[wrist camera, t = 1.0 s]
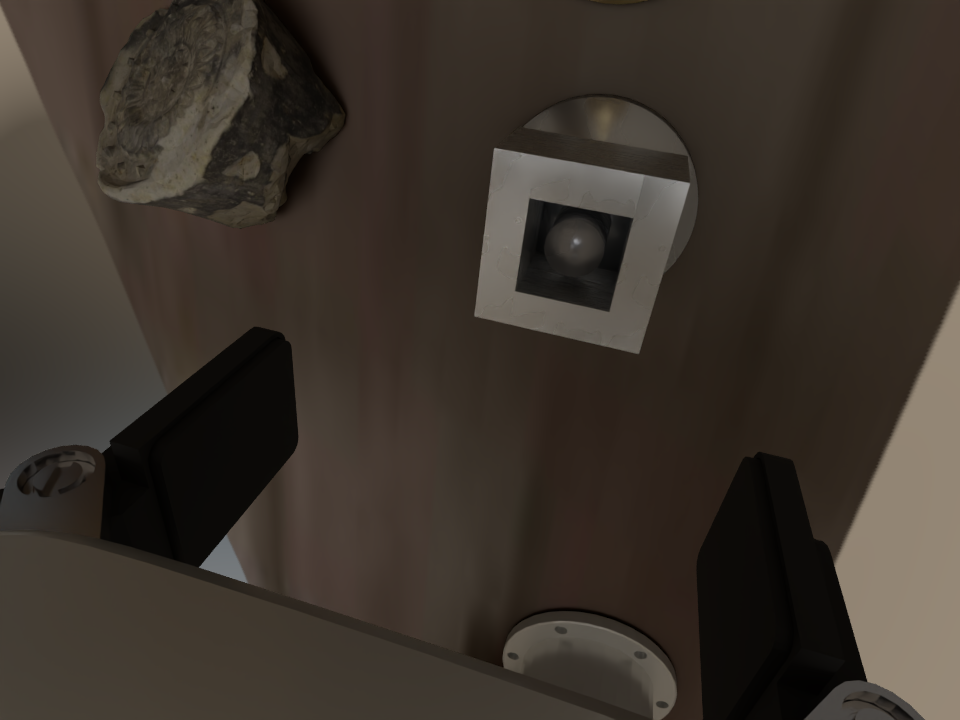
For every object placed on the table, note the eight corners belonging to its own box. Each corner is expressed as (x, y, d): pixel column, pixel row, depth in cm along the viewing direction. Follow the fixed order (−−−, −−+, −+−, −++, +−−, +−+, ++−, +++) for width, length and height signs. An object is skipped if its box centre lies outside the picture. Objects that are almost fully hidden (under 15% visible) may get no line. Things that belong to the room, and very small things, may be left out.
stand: (598, 326, 30) (583, 393, 25) (460, 210, 29) (414, 256, 24) (744, 191, 25) (762, 240, 20) (583, 44, 24) (560, 57, 19)
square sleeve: (643, 308, 26) (638, 354, 22) (498, 277, 27) (474, 316, 24) (687, 155, 22) (690, 183, 19) (519, 126, 23) (494, 148, 20)
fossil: (188, -107, 25) (122, -31, 18) (376, 40, 30) (378, 142, 23) (102, 99, 30) (27, 214, 24) (272, 193, 35) (250, 310, 29)
